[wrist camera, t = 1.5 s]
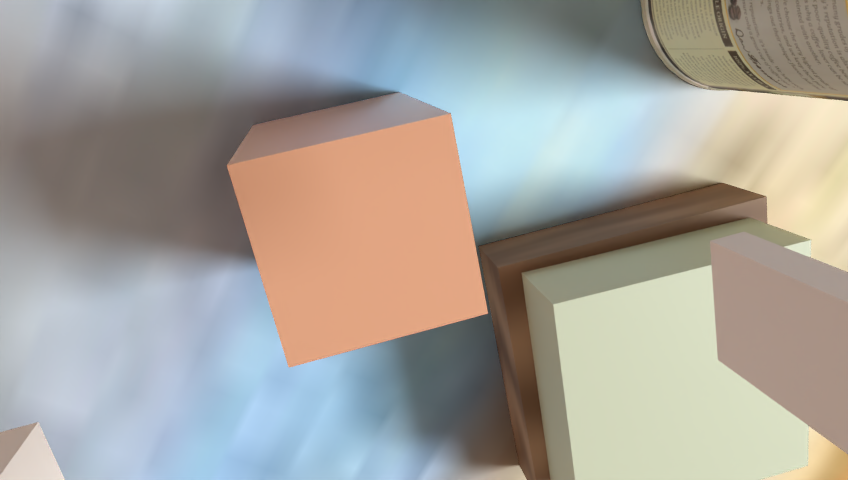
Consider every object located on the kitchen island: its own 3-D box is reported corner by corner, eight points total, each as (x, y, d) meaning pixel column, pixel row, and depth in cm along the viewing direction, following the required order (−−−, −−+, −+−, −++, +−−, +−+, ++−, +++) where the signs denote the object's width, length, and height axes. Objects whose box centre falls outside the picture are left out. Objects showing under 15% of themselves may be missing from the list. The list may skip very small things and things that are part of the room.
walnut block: (475, 243, 34) (498, 267, 30) (716, 181, 35) (766, 196, 31) (516, 460, 38) (540, 505, 34) (728, 395, 40) (774, 432, 36)
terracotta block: (253, 124, 29) (226, 165, 19) (399, 92, 30) (450, 113, 20) (292, 263, 32) (288, 367, 21) (428, 229, 32) (488, 313, 22)
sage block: (521, 272, 30) (553, 304, 26) (750, 217, 32) (811, 240, 28) (550, 479, 34) (581, 533, 30) (753, 421, 35) (808, 465, 32)
